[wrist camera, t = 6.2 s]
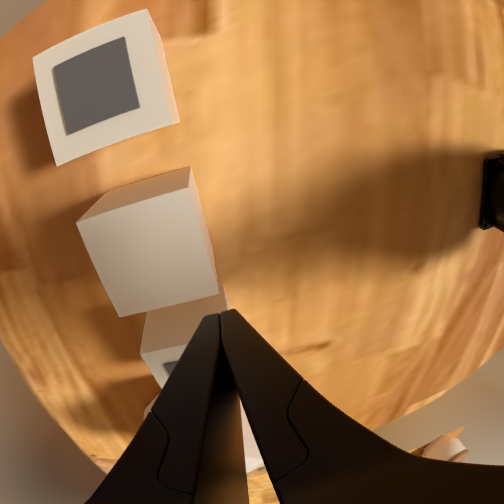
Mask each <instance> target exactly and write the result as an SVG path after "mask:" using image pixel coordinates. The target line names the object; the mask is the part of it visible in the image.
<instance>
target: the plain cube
mask: <svg viewBox="0 0 504 504" xmlns="http://www.w3.org/2000/svg"><path fill="white" fill-rule="evenodd" d="M76 224H77V227H78V229H79V232H80V234H81V237H82V239H83V242H84V244H85V247H86V249H87V251H88V254H89V256H90V258H91V260H92V263H93V265H94V267H95V269H96V271H97V274H98V276H99V278H100V280H101V282H102V284H103V286H104V288H105V290H106V292H107V294H108V296H109V298H110V300H111V302H112V304H113V306H114V308H115V310H116V312H117V314H118V316H119V318H120V317H125V316H129V315H133V314H138V313H142V312H146V311H151V310H155V309H159V308H163V307H168V306H172V305H176V304H180V303H184V302H188V301H192V300H196V299H201V298H205V297H209V296H213V295H216V294H219V289H218V282H217V275H216V268H215V260H214V253H213V247H212V243H211V240H210V236H209V232H208V229H207V225H206V222H205V218H204V214H203V211H202V207H201V203H200V200H199V196H198V192H197V188H196V184H195V181H194V177H193V173H192V169H191V166H190V167H186V168H182V169H179V170H175V171H171V172H168V173H165V174H161V175H158V176H154V177H151V178H148V179H145V180H141V181H138V182H135V183H132V184H129V185H126V186H123V187H120V188H117V189H114V190H111V191H108V192H106V193H105V194H104V195H103V196H102V197H101V198H100V199H99V200H98V201H97V202H96V203H95V204H94V205H93V206H92V207H91V208H90V209H89V210H88V211H87V212H86V213H85V214H84V215H83V216H82V217H81V218H80V219H79V220H78V221H77V222H76Z"/></svg>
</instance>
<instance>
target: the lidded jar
mask: <svg viewBox="0 0 504 504" xmlns="http://www.w3.org/2000/svg"><path fill="white" fill-rule="evenodd" d="M468 454H469V451H468V450H466V448H465V446H464V445H463V444H462V442H461V441H459V440H458V439H457V438H455V437H452V436H446V435H443V436H441V437H439V438H437V439H436V440H434V441H433V442H431V443H430V444H429V445H427V446H426V447H425V448H424V449H423V454H422V457H426V458H432V459H438V460H445V461H453V462H461V461H462V460H463V459H464V458H465V457H466V456H467V455H468Z"/></svg>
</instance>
